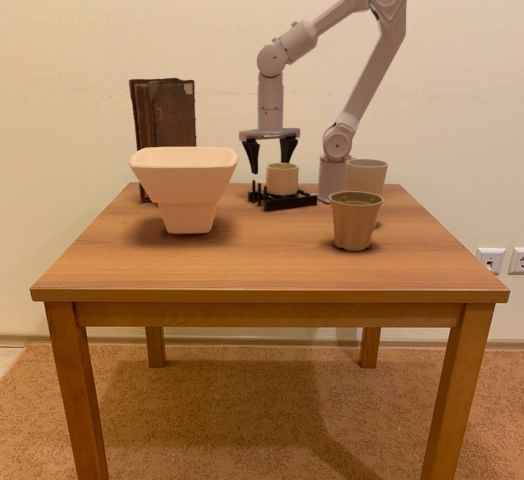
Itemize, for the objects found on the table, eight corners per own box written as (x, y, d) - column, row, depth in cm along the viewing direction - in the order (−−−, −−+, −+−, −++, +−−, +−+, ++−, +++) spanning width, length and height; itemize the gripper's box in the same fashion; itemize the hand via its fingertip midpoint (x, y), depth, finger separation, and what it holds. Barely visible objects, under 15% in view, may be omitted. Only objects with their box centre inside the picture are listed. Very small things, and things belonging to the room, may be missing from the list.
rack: (296, 195, 124) (297, 174, 121) (317, 205, 116) (318, 182, 114) (247, 201, 119) (247, 178, 116) (265, 211, 111) (266, 188, 109)
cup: (387, 224, 104) (396, 162, 98) (366, 233, 99) (373, 168, 93) (355, 216, 109) (361, 157, 103) (332, 224, 104) (337, 162, 98)
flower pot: (345, 257, 87) (350, 207, 83) (315, 241, 94) (318, 194, 90) (388, 249, 91) (395, 200, 87) (356, 234, 98) (361, 188, 94)
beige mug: (303, 193, 115) (304, 167, 112) (274, 196, 112) (274, 170, 109) (281, 182, 123) (282, 158, 120) (254, 185, 121) (254, 161, 118)
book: (187, 188, 128) (180, 76, 116) (209, 192, 125) (204, 77, 112) (137, 202, 117) (123, 79, 104) (159, 207, 113) (148, 80, 100)
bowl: (241, 246, 92) (240, 165, 85) (132, 248, 91) (121, 166, 83) (238, 216, 108) (237, 146, 101) (145, 217, 107) (137, 146, 99)
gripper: (247, 111, 107) (247, 178, 114) (307, 109, 112) (304, 172, 119) (234, 108, 113) (236, 172, 120) (293, 105, 118) (290, 167, 125)
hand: (269, 172), depth 120 cm, fingers open, 7 cm apart
